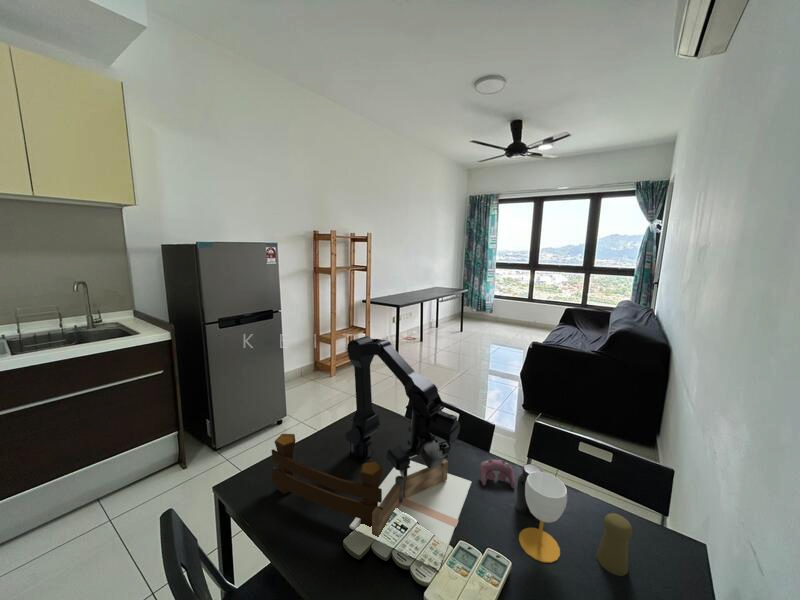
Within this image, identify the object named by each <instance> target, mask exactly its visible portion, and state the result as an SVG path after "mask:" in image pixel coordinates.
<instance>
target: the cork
mask: <svg viewBox="0 0 800 600" xmlns="http://www.w3.org/2000/svg"><path fill="white" fill-rule="evenodd" d="M603 526H604V528H605V530H604V531H603V535H602V538H601V541H600V543H599V546H598V548H597V551H596V555H595V557H596V559H597V562H598V563H599V565H600V566H601V567H602V568H603V569H605V570H606V571H607V572H609V573H610V574H613V575H616V576H621V577H623V576H625V575H627V574H628V572H629V540H630V539H631V537H632V536H633V527H632V525H631V523H630V522H629V521H628V519H627V518H625V517H624V516H622V515H620V514H618V513H613V512H611V513H607V515H605V517H604V519H603Z"/></svg>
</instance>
